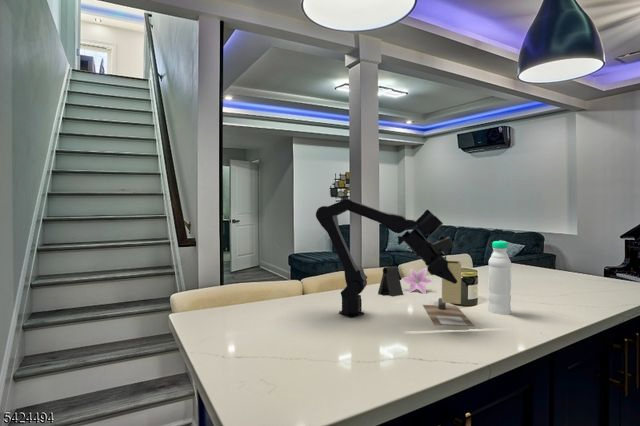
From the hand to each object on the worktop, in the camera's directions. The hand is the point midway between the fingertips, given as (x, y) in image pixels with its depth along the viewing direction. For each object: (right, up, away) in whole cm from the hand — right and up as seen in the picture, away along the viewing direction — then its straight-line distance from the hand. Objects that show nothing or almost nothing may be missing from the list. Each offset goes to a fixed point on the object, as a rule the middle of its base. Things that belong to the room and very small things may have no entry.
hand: (455, 280), depth 114 cm
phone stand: (-14, -13, +35) cm, 40 cm away
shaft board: (-1, -13, +6) cm, 15 cm away
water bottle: (+19, -13, +10) cm, 25 cm away
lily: (-1, -13, +42) cm, 44 cm away
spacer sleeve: (-1, -7, +1) cm, 7 cm away
